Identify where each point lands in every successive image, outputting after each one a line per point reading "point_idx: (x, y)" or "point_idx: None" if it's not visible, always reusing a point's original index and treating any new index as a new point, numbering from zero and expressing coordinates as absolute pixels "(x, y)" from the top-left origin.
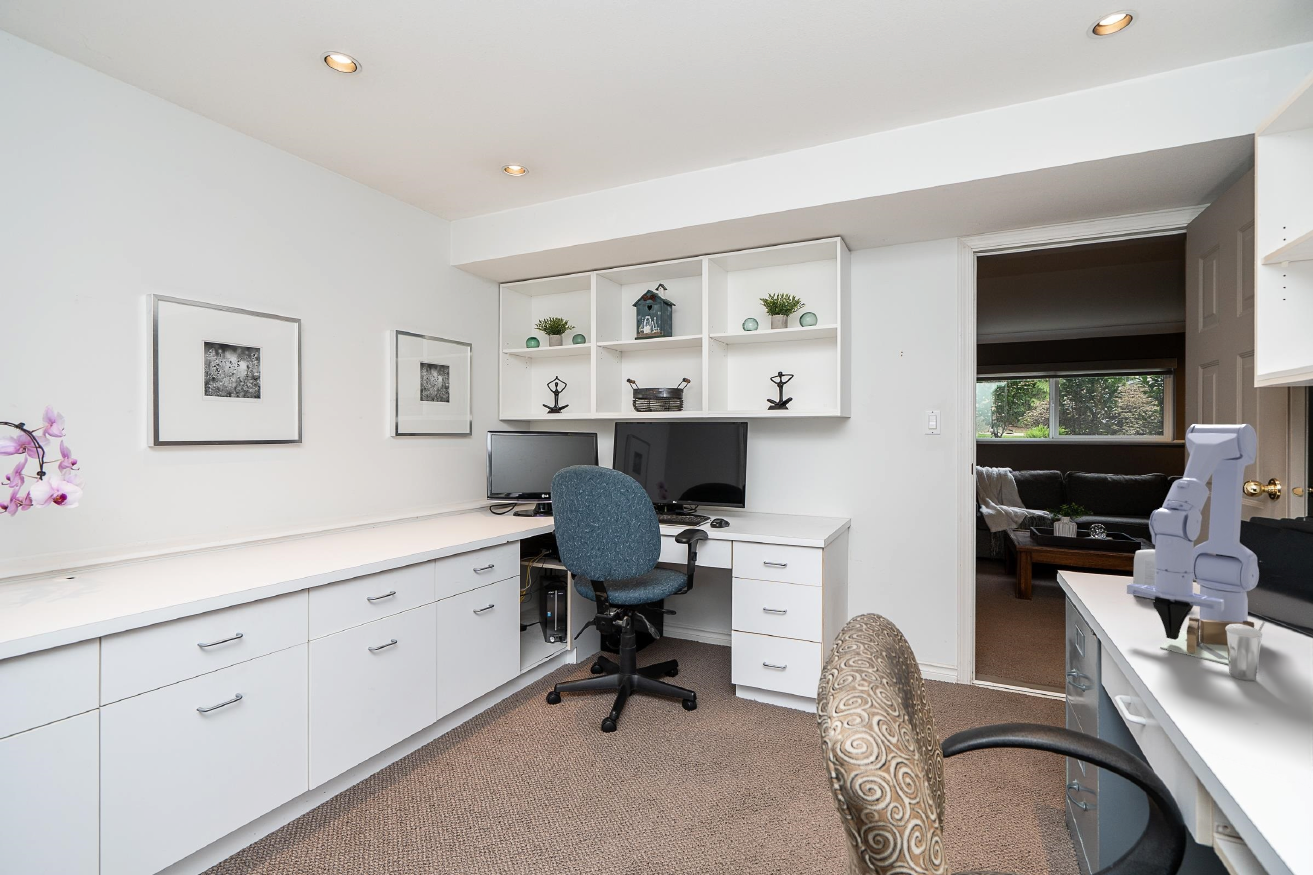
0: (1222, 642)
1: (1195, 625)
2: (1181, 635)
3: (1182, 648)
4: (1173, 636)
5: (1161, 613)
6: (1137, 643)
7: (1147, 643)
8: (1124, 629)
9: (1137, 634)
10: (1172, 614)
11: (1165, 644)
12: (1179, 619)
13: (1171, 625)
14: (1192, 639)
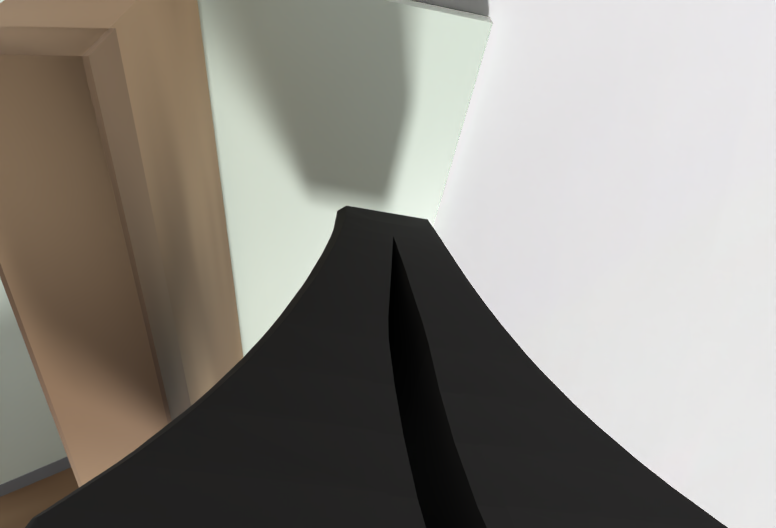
0: (37, 492)
1: (93, 464)
2: None
3: (270, 138)
4: (358, 221)
5: (582, 454)
6: (723, 32)
7: (606, 120)
8: (739, 422)
9: (654, 358)
10: (371, 446)
11: (434, 172)
12: (243, 381)
13: (385, 304)
14: (52, 2)
